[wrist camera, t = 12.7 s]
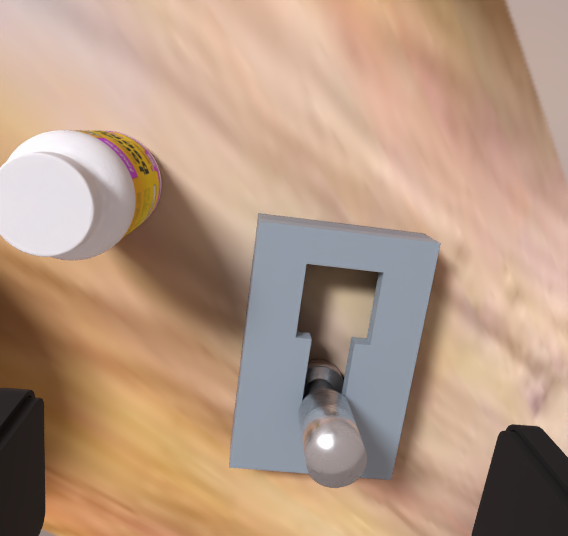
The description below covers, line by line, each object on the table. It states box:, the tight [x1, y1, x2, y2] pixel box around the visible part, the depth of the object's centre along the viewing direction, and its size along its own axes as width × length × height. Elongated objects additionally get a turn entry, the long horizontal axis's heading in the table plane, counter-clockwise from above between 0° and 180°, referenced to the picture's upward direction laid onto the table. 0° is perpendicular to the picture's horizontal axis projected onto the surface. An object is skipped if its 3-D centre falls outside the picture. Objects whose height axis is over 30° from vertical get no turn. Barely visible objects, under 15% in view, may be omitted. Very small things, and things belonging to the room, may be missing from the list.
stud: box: [298, 359, 367, 488], centre depth 36 cm, size 4×4×10 cm
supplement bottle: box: [0, 130, 162, 260], centre depth 30 cm, size 7×7×13 cm
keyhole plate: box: [229, 213, 441, 480], centre depth 38 cm, size 18×12×3 cm, turn 172°
